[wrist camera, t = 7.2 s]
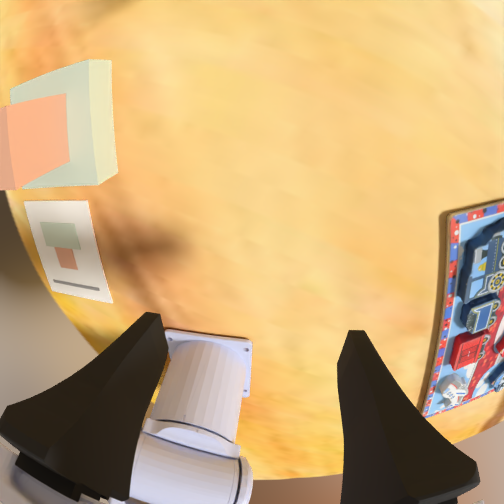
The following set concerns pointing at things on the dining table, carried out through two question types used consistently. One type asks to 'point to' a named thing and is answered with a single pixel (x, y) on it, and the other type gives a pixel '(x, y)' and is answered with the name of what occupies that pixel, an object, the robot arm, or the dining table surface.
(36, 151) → the top brick
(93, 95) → the base brick
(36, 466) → the robot arm
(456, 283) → the puzzle board
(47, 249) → the page
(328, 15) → the dining table surface
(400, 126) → the dining table surface
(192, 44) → the dining table surface
